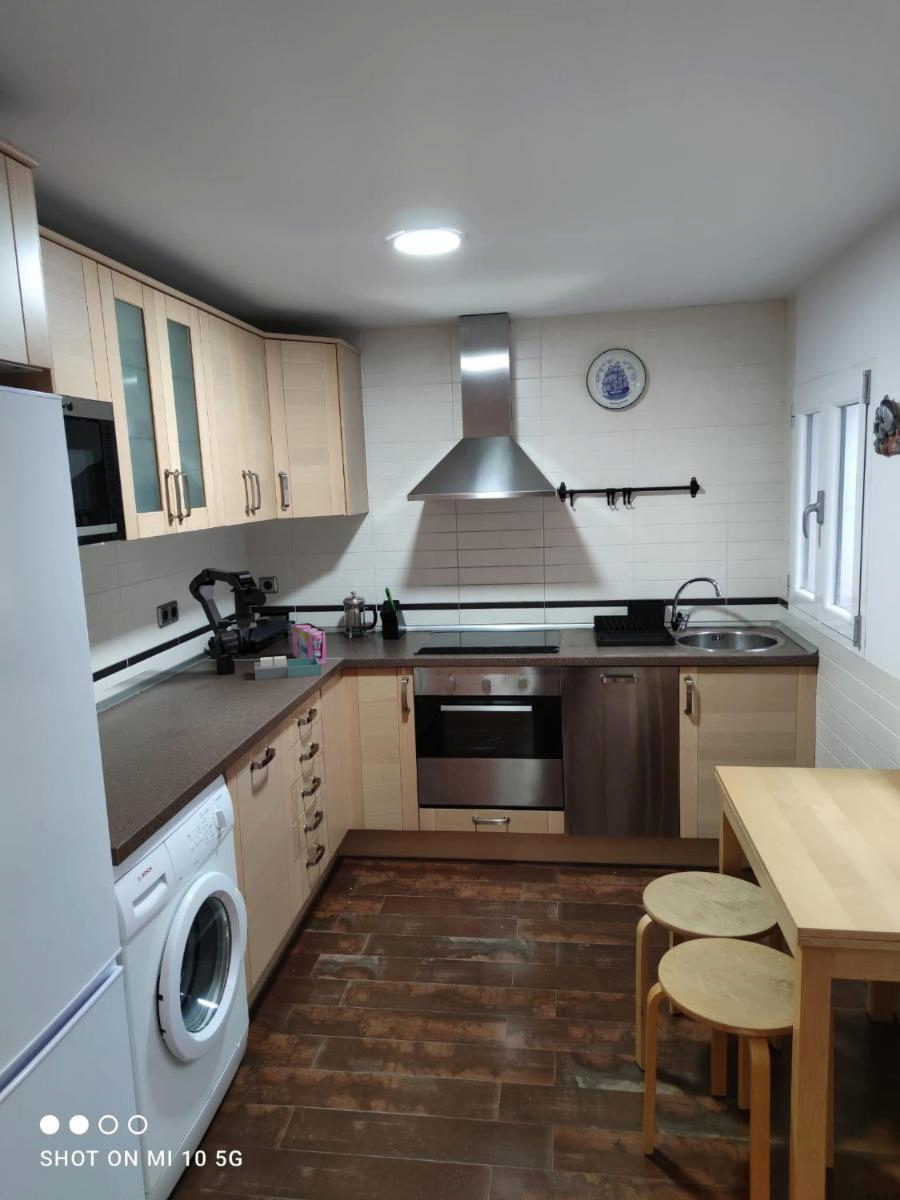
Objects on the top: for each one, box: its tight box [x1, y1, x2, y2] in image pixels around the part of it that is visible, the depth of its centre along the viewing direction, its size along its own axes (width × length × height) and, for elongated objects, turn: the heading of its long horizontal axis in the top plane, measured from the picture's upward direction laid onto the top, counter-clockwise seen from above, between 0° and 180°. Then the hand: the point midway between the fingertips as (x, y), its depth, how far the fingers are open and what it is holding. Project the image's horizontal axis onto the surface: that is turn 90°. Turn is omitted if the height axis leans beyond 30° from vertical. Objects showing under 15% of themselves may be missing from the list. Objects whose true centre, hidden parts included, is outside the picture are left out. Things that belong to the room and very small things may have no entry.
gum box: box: [291, 622, 328, 665], centre depth 321 cm, size 24×8×14 cm, turn 27°
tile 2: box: [273, 655, 287, 666], centre depth 297 cm, size 4×4×2 cm
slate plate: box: [254, 660, 288, 681], centre depth 297 cm, size 12×12×4 cm
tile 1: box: [259, 656, 274, 667], centre depth 296 cm, size 4×4×2 cm
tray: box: [286, 657, 322, 679], centre depth 300 cm, size 12×14×4 cm
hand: (245, 645), depth 293 cm, fingers closed
